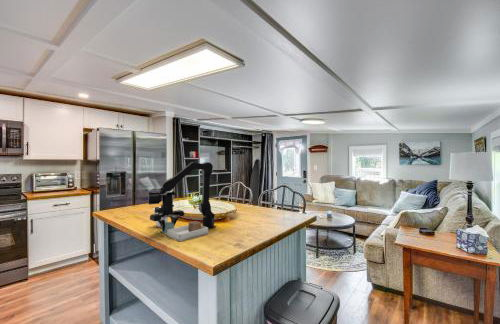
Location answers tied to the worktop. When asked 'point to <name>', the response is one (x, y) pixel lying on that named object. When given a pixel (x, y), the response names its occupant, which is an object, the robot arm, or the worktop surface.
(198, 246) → the worktop surface
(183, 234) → the tray
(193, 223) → the walnut block
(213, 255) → the worktop surface
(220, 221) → the worktop surface
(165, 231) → the teal block
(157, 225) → the cup
